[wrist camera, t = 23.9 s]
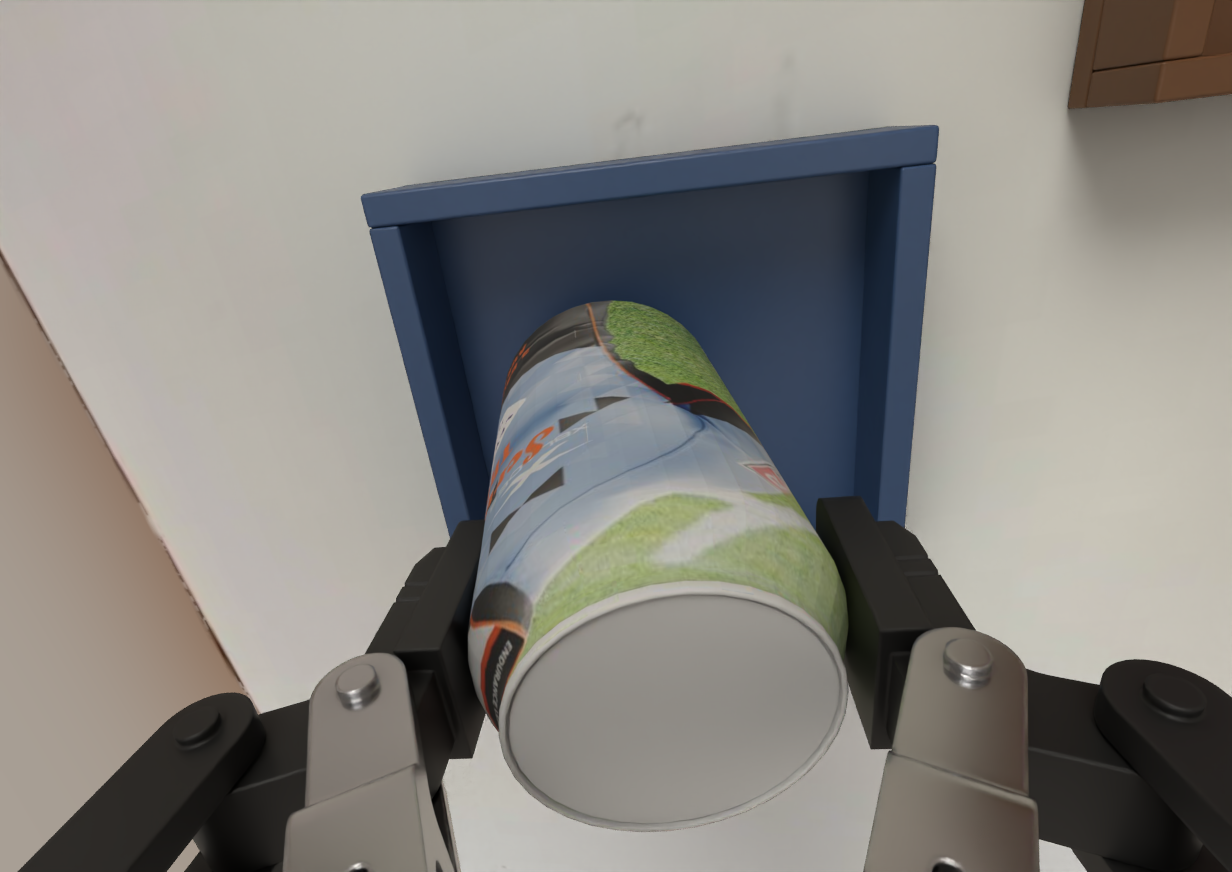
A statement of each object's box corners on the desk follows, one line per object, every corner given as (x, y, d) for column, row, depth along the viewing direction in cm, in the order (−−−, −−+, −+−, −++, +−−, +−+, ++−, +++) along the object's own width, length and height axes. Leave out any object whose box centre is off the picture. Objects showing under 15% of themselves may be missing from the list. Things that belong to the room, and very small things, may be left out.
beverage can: (509, 285, 18) (292, 524, 7) (772, 295, 18) (950, 559, 7) (519, 479, 21) (371, 860, 10) (746, 490, 21) (845, 895, 10)
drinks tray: (406, 185, 19) (358, 194, 16) (892, 126, 17) (941, 124, 14) (495, 568, 24) (473, 628, 21) (867, 547, 23) (898, 609, 20)
